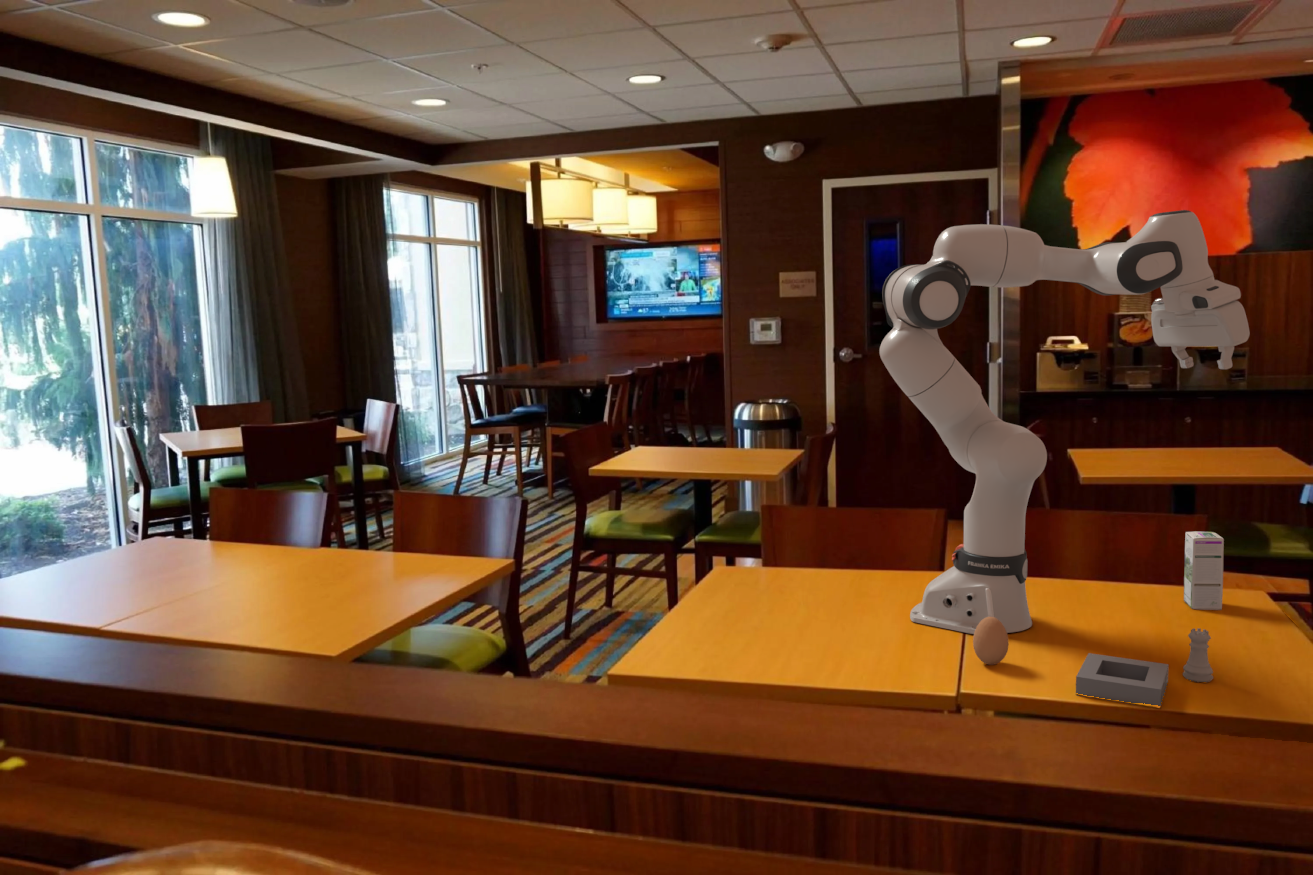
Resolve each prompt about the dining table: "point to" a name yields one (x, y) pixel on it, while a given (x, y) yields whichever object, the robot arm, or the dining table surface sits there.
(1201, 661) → the rook chess piece
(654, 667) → the dining table surface
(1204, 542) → the syrup box
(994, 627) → the egg
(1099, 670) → the socket block
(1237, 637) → the dining table surface
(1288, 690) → the dining table surface
